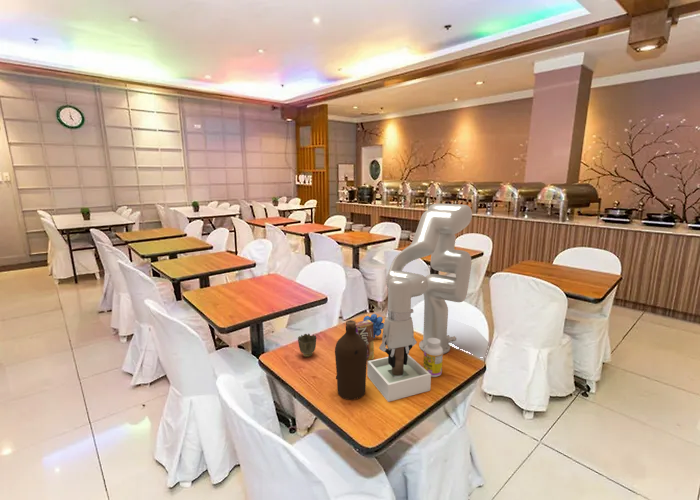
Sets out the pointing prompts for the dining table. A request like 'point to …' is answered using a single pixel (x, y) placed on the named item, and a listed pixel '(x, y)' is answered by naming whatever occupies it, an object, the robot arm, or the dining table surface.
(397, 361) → the peg
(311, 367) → the dining table surface
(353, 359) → the olive oil
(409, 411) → the dining table surface
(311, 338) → the cup
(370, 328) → the candy box
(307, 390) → the dining table surface
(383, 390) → the box
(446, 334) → the robot arm
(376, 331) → the grapes
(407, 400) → the dining table surface
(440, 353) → the supplement bottle
